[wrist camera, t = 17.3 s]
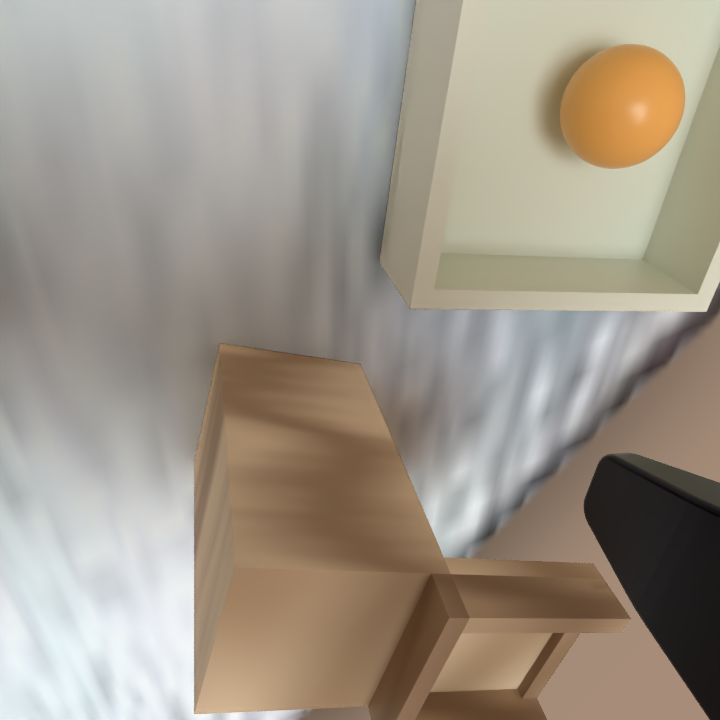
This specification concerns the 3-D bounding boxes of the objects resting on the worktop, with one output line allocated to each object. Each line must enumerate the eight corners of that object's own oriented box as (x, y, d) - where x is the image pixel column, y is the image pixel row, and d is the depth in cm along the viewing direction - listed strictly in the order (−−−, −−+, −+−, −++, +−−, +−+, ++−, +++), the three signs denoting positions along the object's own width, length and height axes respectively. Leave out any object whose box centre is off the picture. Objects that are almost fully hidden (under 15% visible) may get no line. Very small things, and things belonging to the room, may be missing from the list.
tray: (379, 262, 21) (409, 309, 18) (431, -115, 16) (487, -138, 13) (641, 269, 23) (706, 311, 20) (758, -55, 18) (866, -61, 15)
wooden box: (194, 460, 23) (194, 766, 14) (219, 343, 21) (239, 616, 12) (424, 480, 26) (544, 741, 17) (468, 379, 24) (631, 618, 15)
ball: (563, 148, 16) (636, 208, 18) (663, 35, 15) (734, 112, 16) (520, 105, 19) (588, 161, 20) (603, 4, 17) (669, 73, 19)
